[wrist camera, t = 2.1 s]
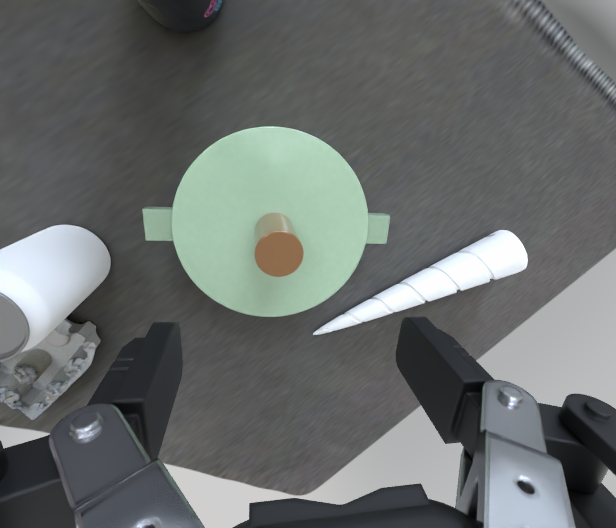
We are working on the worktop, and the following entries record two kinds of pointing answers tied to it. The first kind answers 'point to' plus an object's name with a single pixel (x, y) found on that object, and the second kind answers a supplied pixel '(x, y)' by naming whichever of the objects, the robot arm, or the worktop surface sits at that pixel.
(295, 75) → the worktop surface
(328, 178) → the pan lid
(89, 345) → the egg carton
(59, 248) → the can
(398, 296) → the unicorn horn
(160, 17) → the supplement container
